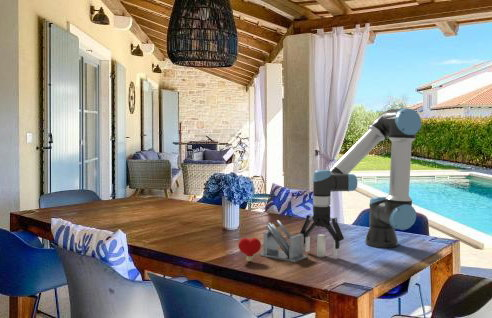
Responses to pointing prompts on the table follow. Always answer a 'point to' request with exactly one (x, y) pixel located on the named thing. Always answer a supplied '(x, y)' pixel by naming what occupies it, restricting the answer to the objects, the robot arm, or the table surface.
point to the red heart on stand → (249, 247)
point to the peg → (321, 245)
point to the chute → (282, 244)
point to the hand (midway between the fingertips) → (321, 253)
